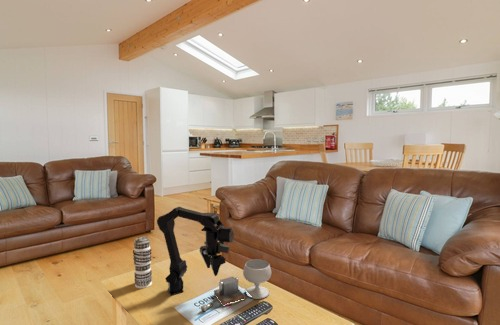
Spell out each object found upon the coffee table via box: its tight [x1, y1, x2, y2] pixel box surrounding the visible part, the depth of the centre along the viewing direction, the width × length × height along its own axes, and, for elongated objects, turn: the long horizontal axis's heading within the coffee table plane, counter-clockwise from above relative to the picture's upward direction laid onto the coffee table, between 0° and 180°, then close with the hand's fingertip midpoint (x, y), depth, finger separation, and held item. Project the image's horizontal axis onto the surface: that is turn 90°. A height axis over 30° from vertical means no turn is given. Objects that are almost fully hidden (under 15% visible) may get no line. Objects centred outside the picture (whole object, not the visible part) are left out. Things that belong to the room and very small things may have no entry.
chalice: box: [242, 258, 272, 300], centre depth 144 cm, size 14×14×15 cm
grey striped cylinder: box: [132, 236, 153, 289], centre depth 152 cm, size 9×9×25 cm
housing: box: [218, 276, 239, 297], centre depth 140 cm, size 10×5×6 cm, turn 119°
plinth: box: [213, 288, 246, 305], centre depth 140 cm, size 11×11×3 cm
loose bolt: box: [200, 301, 214, 312], centre depth 131 cm, size 6×3×3 cm, turn 149°
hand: (212, 271), depth 139 cm, fingers open, 9 cm apart
